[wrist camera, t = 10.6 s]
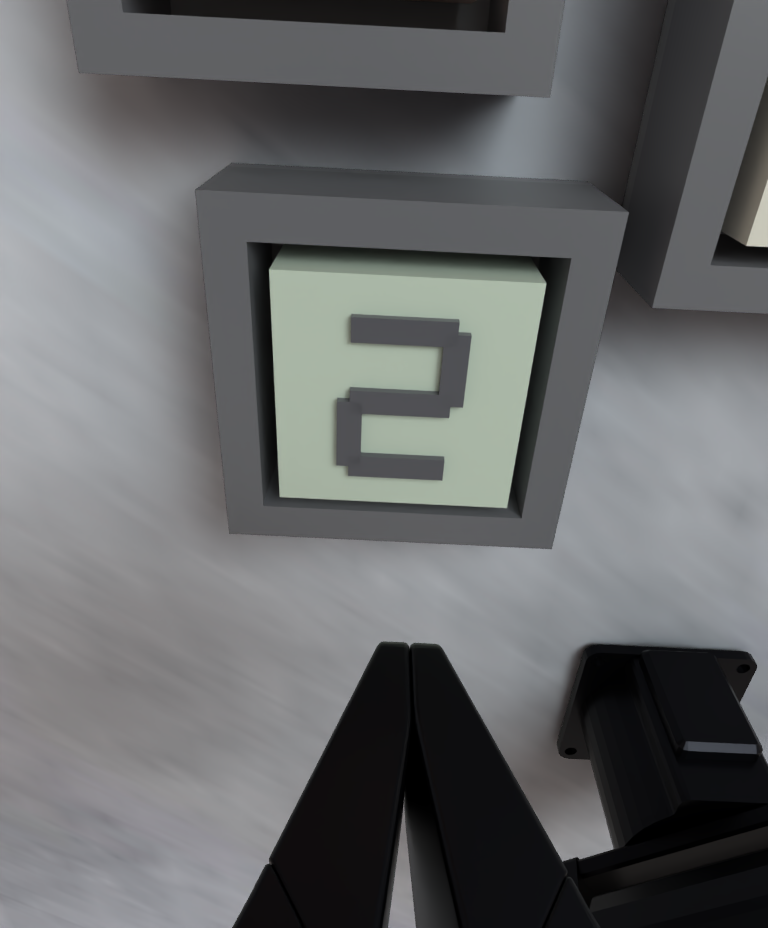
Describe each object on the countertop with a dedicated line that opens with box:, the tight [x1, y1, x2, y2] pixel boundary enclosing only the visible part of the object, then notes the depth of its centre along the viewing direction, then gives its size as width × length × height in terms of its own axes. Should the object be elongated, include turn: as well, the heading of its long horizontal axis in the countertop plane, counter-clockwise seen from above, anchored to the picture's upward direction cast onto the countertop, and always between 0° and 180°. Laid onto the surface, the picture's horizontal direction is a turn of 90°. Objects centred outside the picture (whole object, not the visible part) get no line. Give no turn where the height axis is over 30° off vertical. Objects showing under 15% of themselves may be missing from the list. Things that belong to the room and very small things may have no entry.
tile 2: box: [269, 244, 546, 508], centre depth 17 cm, size 6×6×3 cm
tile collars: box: [67, 0, 768, 549], centre depth 15 cm, size 20×21×4 cm
